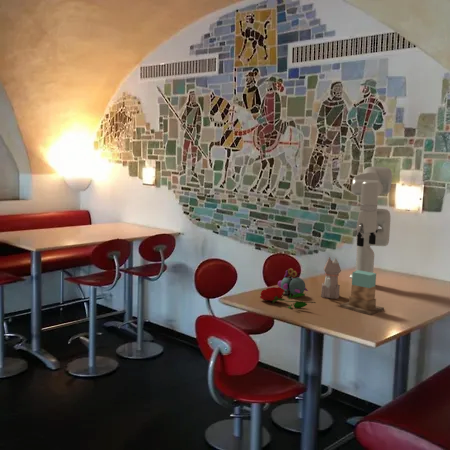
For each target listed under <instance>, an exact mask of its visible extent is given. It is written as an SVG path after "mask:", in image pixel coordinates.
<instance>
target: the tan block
mask: <svg viewBox="0 0 450 450" xmlns="http://www.w3.org/2000/svg"><path fill="white" fill-rule="evenodd" d="M350 288H351V291H350V296H351V297H354V298H358V299H362V300H366V301H369V300H372V299H376V285H375V286H374V287H371V288H366V287H361V286H356V285H352V284H351V287H350Z"/></svg>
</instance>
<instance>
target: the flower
mask: <svg viewBox="0 0 450 450" xmlns="http://www.w3.org/2000/svg"><path fill="white" fill-rule="evenodd" d="M284 291H285V290H284V289H282V288H280V287H279V286H277V287H274V286H273V287H269V288H266V289H262V291H261V292H260V296H259V298H260V299H262V300H263V301H271V303H270V304H275V302H276V301H281V302H287V303H293V304H290V306H288V307H287V308H288V309H292V306H293V307H294V308H297V309H298V308H299V309H301V308H304V307H307V306H308V304H316V303H317V302H315V301H303V300H301V301H297V300H296V298H300V297H303V296H304V295H306V293H304V292H303V293H298V294H295V295H293V294H292V292H291V294H289V296H288V300H286V299H285V298H283V297H284V296H285V292H284ZM290 299H293V300H290Z"/></svg>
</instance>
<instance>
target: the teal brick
mask: <svg viewBox="0 0 450 450" xmlns="http://www.w3.org/2000/svg"><path fill="white" fill-rule="evenodd" d="M376 283H377V273H375V272H373V273H371V272H366V271H360V270H358V271H356V270H355V271H352V278H351V286H352V285H356V286H361V287H366V288H371V287H374V286H376Z"/></svg>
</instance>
